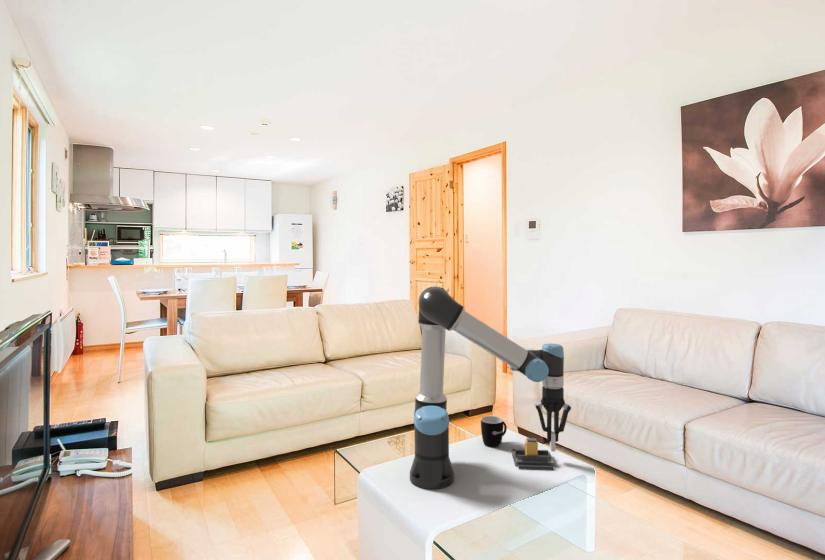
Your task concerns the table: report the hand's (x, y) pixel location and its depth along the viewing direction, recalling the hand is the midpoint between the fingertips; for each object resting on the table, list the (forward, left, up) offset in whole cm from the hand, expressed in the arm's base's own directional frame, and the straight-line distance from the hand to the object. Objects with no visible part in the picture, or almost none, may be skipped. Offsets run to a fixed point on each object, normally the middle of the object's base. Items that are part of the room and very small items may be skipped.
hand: (552, 449), depth 174 cm
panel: (-7, 0, -4) cm, 8 cm away
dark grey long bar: (-7, -7, -4) cm, 11 cm away
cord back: (-8, +8, -4) cm, 12 cm away
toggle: (-8, 0, -3) cm, 8 cm away
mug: (-20, +16, -5) cm, 26 cm away
